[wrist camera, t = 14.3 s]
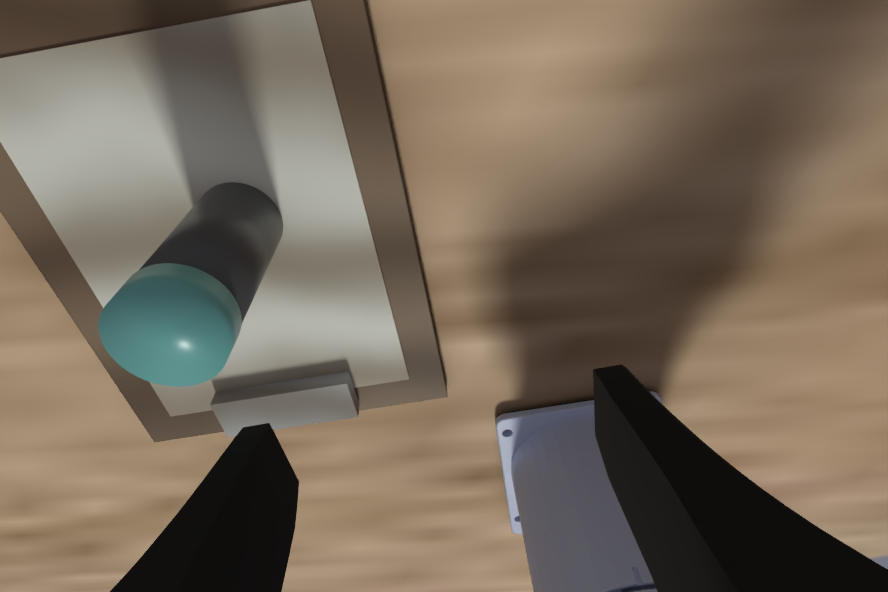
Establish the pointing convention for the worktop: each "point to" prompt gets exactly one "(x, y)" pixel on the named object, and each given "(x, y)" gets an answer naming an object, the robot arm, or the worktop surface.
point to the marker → (194, 289)
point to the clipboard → (212, 163)
